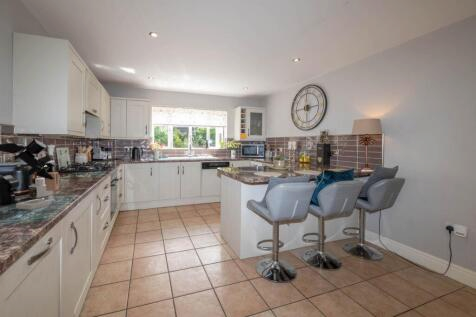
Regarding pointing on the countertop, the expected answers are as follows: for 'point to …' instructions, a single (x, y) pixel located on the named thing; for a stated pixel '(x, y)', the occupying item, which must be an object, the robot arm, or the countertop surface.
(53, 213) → the countertop surface
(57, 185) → the plug
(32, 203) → the socket block
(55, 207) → the countertop surface
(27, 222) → the countertop surface
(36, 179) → the printed box
